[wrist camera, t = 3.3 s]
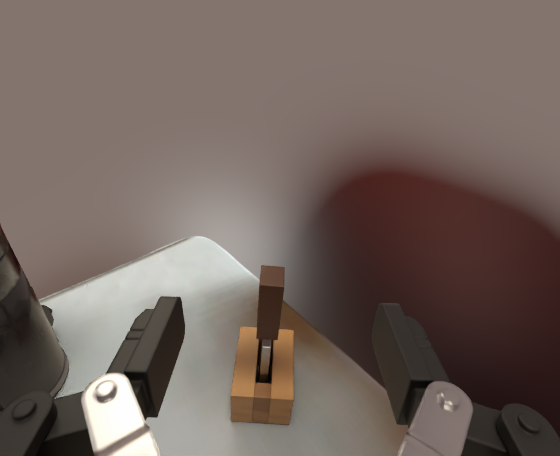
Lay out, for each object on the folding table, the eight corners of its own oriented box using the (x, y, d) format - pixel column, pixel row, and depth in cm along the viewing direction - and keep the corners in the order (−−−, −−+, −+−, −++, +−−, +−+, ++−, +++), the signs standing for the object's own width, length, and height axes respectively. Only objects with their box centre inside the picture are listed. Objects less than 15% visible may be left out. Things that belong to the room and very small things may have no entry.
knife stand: (240, 352, 41) (240, 326, 38) (289, 355, 41) (293, 329, 38) (230, 421, 34) (230, 395, 31) (288, 424, 34) (293, 400, 32)
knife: (255, 368, 39) (262, 258, 29) (272, 369, 39) (284, 260, 29) (252, 402, 36) (258, 292, 26) (270, 404, 36) (284, 294, 26)
